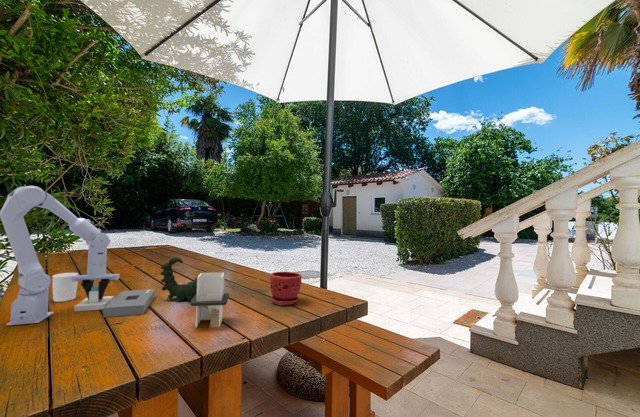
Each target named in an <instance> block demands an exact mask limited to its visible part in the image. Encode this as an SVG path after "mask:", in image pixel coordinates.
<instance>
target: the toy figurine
mask: <svg viewBox="0 0 640 417" xmlns="http://www.w3.org/2000/svg"><path fill="white" fill-rule="evenodd" d="M176 263H181V264H183V263H184V261H183V259H182V258H179V257H177V256H176V257H172V258H170V259H169V260H168V262H165V263H163V264H162V265H160V269H161V270H162V271H161V272H160V275H161V276H163V278H162V279H160V282H161V283H164V286H162V287H161V290H162V292H164V291H166V290H167V292H168V293H169V294H168V295H167V298H168V299H169V300H172V299H173V298H174V297H176V298H177V299H176V301H177V302H182V301H183V300H185V299H187V301H188V302H191V300H192V299H193V297H194V296H195V295H196V294H197V277H198V276H199V275H197V276H196V277H195V278H194V279H193V281H188V282H187V283H186V284H185V283H182V284H179V283H178V282H177V281H176V279H175V278H176V277H175V275H174V270H173V268H172V267H173V265H174V264H176Z"/></svg>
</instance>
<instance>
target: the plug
mask: <svg viewBox="0 0 640 417" xmlns="http://www.w3.org/2000/svg"><path fill="white" fill-rule="evenodd" d="M101 300H102V299H101ZM101 300H99V284H98V285H97V284H96V285H95V284H94V285H93V287H91V291H90V292H89V303H99V302H100V301H101Z"/></svg>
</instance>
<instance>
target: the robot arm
mask: <svg viewBox="0 0 640 417" xmlns="http://www.w3.org/2000/svg"><path fill="white" fill-rule="evenodd" d="M35 207H38V208H43V209H46V210H49V211H50V212H52V213H53V214H54V215H56V216H57V217H59V219H61V220H63V221H64V222H65V223H67V224H68V227H69V230H70V232H73V233H74V234H75V235H76V236H78V237H79V238H81V240H83V241H85V243H86V245H87V246H88V251H87V268H86V270H87V271H86V273H87V274H82V275H81V274H78V275H77V276H73V277H72V282H76V281H78V282H81V283H80V284H81V285H80V286H81V287H82V288H83V289H84V292H85V294H86V298H88V300H89V292H90V291H91V287H93V286H94V283H95V281H98V285H99V300H101V299H102V298H103V297H104V296H105V292H106V289H107V287H108V285H109V284H110V281H111V280H115V281H116V280H117V281H118V280H119V279H120V275H121V274H120V273H107V261H108V260H107V256H108V255H107V254H108V251H107V250H108V246H109V245H110V243H111V239H110V238H109V235H108V234H106V233H103V232H101V231H102V229H100V228H97V227H96V226H95V225H93V224H92V223H91V222H92V221H91V220H90V219H89V218H87V219H86V218H84V217H77V215H75V214H74V213H73V212H72V211H70V209H68V208H67V207H66V206H65V205H64V204H62V203H61V202H60V201H59V200H58V199H57V198H55V197H54V196H52V195H51V194H50V193H48V192H45V191H44V190H43V189H42V188H41V187H40V186H37V185H36V186H35V185H27V186H19V187H16V188H15V189H13V191H11V192H10V193H8V194H7V197H6V200H5V201H4V203H3V206H2V208H1V209H0V219H1V223H2V225H3V228H4V231H5V234H6V237H7V239H8V243H9V245H10V247H11V250H12V253H13V255H14V258H15V261H16V263H17V271H18V278H17V284H18V285H19V286H20V287H21V288H20V289H19V290H18V292H17V293H18V294H17V298H16V299H15V300H14V301H13V302H12V303H11V306H10V321H9V322H7V323H6V325H5V326H16V325H17V326H18V325H19V326H20V325H28V324H38V323H40V322H41V323H42V322H43V321H44V320H45V319H47V318H49V317H50V316H51V315H53V314H54V311H49V294H50V290H49V289H50V288H49V287H50V286H51V283H52V279H51V277H50V276H49V275H48V274H46V273H45V270H44V268H43V267H42V265H41V263H40V261H39V259H38V255H37V253H36V249H35V247H34V244H33V242H32V241H33V240H32V238H31V236H30V232H29V230H28V226H27V224H26V221H25V218H24V217H25V216H26V215H27V214H28V212H30V210H31V209H33V208H35Z"/></svg>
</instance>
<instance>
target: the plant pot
mask: <svg viewBox="0 0 640 417" xmlns="http://www.w3.org/2000/svg"><path fill="white" fill-rule="evenodd" d="M269 280H270V281H269V286H270V287H269V288H270V291H271V297H270V301H271V302H272V303H273V304H275V305H278V306H291V305H294V304H296V303H297V302H298V301H299V297H298V295H299V293H300V290H301V285H302V274H300V273H297V272H294V271H275V272H272V273H271V274H270V277H269Z"/></svg>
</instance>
